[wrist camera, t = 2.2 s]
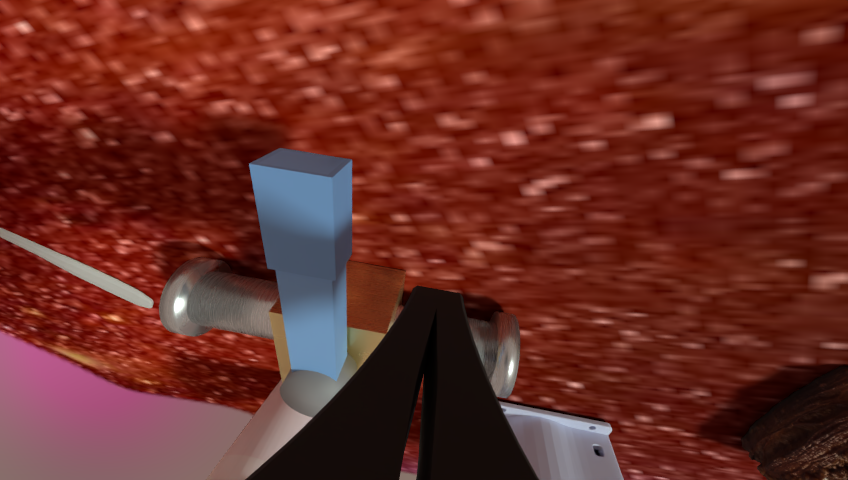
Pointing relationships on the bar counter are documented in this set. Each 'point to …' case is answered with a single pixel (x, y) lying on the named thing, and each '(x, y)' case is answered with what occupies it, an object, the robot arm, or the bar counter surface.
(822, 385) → the pastry
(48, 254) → the butter knife
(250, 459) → the smoothie
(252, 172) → the lever
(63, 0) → the bar counter surface
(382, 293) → the valve pipe
